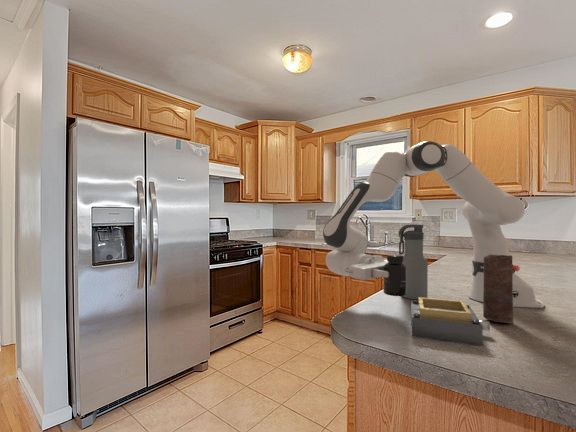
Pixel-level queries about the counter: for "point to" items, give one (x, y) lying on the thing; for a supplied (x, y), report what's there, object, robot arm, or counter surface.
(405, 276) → the supplement bottle
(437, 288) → the counter surface
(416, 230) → the water bottle
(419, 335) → the grey and tan box
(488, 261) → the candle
